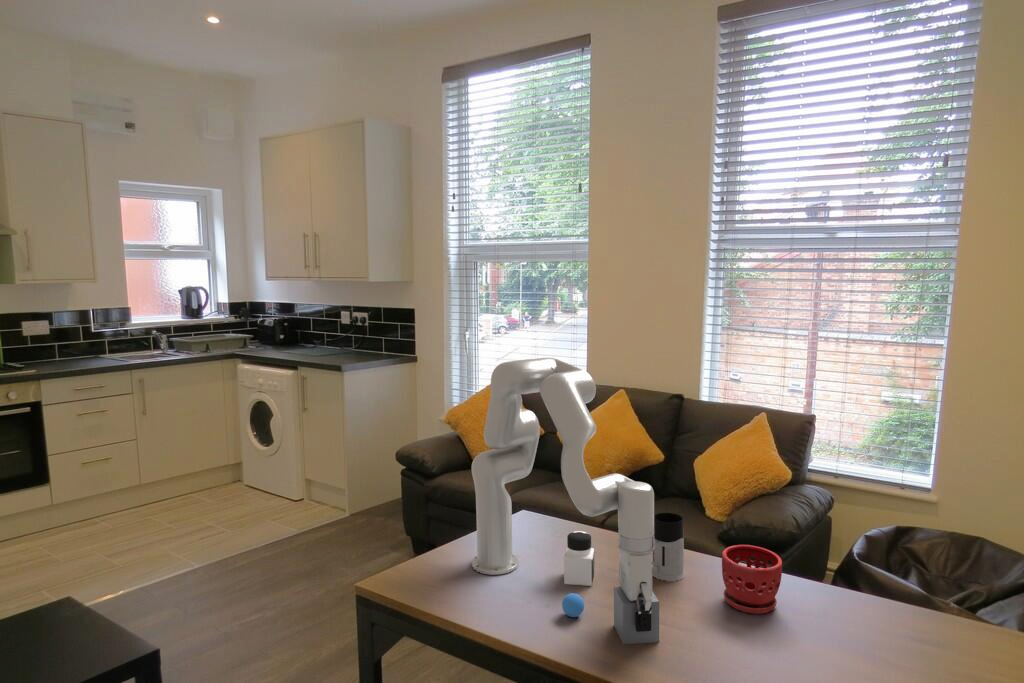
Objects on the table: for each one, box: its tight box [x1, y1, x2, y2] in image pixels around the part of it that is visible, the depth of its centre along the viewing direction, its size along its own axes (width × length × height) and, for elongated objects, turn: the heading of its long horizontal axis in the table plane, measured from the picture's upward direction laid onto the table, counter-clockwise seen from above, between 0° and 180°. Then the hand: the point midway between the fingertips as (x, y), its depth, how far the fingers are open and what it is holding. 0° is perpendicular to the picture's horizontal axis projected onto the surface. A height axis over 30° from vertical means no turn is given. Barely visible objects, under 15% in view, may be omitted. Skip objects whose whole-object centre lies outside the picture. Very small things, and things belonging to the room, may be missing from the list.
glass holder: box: [651, 512, 686, 582], centre depth 164 cm, size 9×14×15 cm, turn 124°
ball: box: [561, 592, 585, 618], centre depth 145 cm, size 5×5×5 cm
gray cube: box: [613, 585, 660, 645], centre depth 137 cm, size 8×8×9 cm
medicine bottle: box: [563, 530, 595, 587], centre depth 163 cm, size 7×7×12 cm
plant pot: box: [721, 544, 783, 615], centre depth 148 cm, size 13×13×12 cm
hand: (636, 618), depth 137 cm, fingers open, 9 cm apart
